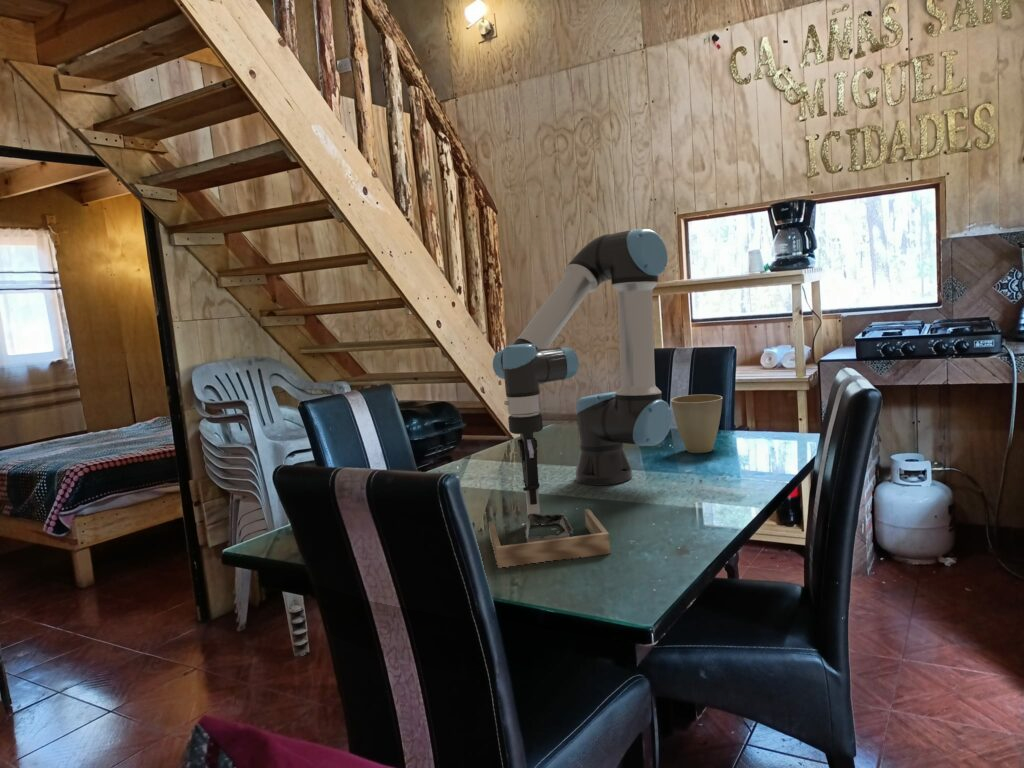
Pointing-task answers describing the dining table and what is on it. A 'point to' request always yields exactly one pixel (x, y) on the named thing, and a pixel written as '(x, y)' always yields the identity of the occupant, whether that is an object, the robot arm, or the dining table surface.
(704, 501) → the dining table surface
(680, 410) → the plant pot
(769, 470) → the dining table surface
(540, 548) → the box
